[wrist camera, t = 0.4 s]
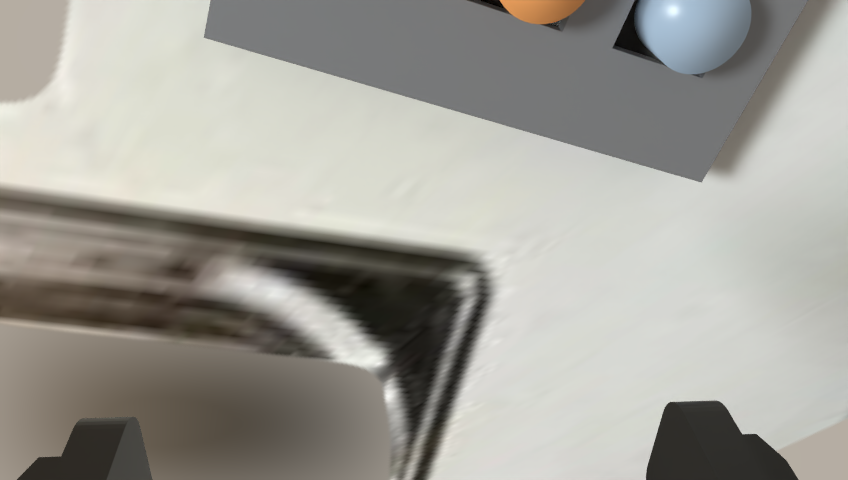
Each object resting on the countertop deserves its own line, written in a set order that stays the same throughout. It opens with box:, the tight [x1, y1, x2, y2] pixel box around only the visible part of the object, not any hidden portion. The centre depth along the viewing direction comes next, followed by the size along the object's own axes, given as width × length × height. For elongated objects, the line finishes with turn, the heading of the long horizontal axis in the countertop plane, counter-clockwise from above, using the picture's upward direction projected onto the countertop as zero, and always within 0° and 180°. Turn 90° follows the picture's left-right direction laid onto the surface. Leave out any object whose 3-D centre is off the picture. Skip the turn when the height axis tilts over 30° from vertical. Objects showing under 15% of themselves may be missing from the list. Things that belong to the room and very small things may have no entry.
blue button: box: [634, 0, 751, 74], centre depth 31 cm, size 4×4×2 cm
